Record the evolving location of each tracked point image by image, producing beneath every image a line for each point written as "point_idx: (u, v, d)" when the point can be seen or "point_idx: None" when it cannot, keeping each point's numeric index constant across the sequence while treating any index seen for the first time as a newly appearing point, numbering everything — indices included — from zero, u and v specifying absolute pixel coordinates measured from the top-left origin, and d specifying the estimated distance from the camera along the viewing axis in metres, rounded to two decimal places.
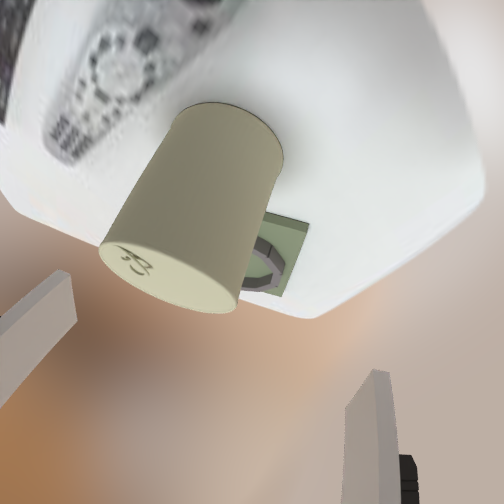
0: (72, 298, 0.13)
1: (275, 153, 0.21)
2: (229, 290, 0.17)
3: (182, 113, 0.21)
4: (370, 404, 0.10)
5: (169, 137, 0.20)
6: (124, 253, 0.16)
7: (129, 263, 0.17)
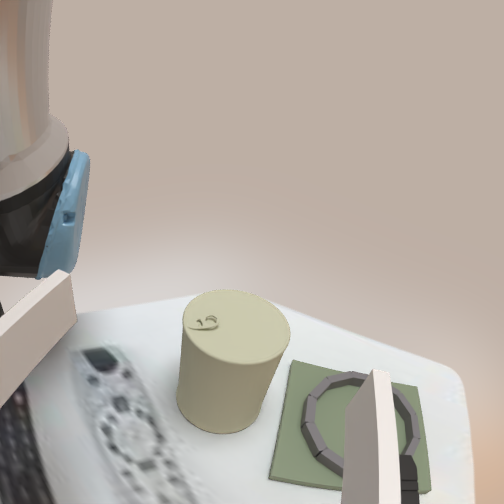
0: (72, 297, 0.13)
1: None
2: (227, 290, 0.30)
3: (179, 406, 0.29)
4: (370, 404, 0.10)
5: (181, 390, 0.28)
6: (193, 320, 0.25)
7: (204, 322, 0.25)
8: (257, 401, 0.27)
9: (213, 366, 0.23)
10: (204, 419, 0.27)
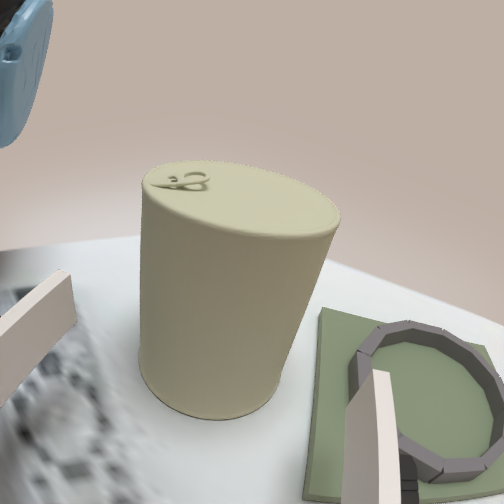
0: (72, 298, 0.13)
1: None
2: (226, 163, 0.18)
3: (142, 371, 0.17)
4: (370, 405, 0.10)
5: (141, 336, 0.16)
6: (162, 177, 0.13)
7: (182, 177, 0.13)
8: (280, 353, 0.15)
9: (193, 248, 0.11)
10: (182, 391, 0.15)
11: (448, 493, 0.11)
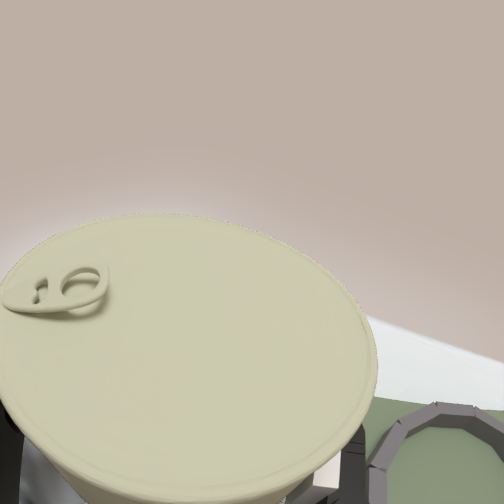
0: None
1: None
2: (175, 216, 0.11)
3: None
4: None
5: None
6: (27, 282, 0.06)
7: (55, 287, 0.06)
8: None
9: (64, 472, 0.04)
10: None
11: None
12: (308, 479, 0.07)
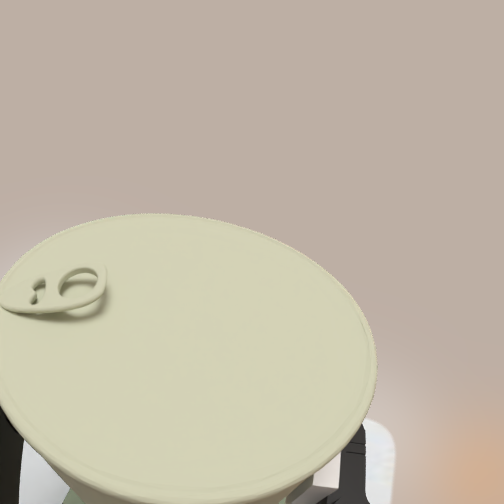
0: None
1: None
2: (174, 216, 0.11)
3: None
4: None
5: None
6: (25, 283, 0.06)
7: (52, 288, 0.06)
8: None
9: (61, 474, 0.04)
10: None
11: None
12: (308, 479, 0.07)
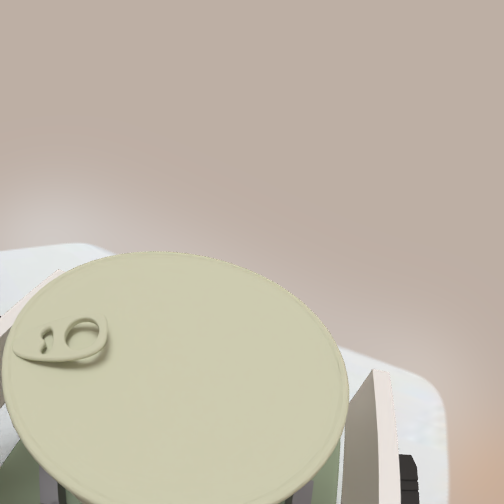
0: None
1: None
2: (168, 253, 0.11)
3: None
4: (370, 404, 0.10)
5: None
6: (34, 331, 0.06)
7: (60, 338, 0.06)
8: None
9: (77, 496, 0.04)
10: None
11: None
12: None
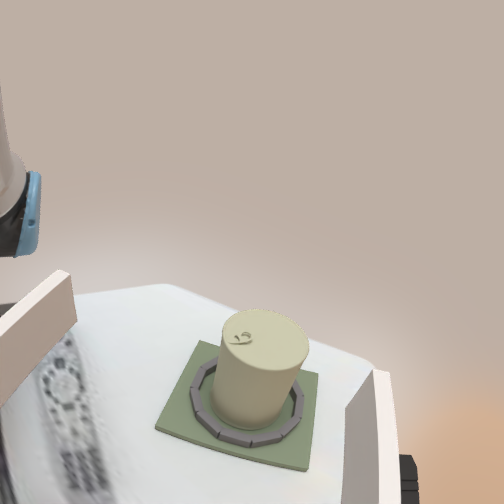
0: (72, 298, 0.13)
1: None
2: (255, 309, 0.36)
3: (213, 408, 0.35)
4: (370, 404, 0.10)
5: (216, 394, 0.34)
6: (232, 336, 0.31)
7: (241, 337, 0.31)
8: (281, 401, 0.33)
9: (250, 373, 0.29)
10: (237, 418, 0.32)
11: (230, 449, 0.31)
12: None
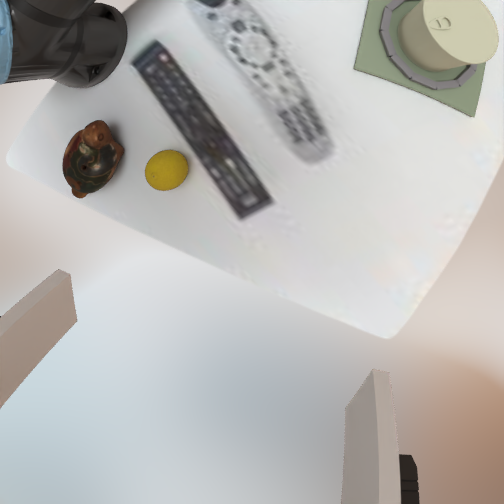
0: (72, 298, 0.13)
1: None
2: None
3: (403, 49, 0.31)
4: (370, 404, 0.10)
5: (408, 43, 0.28)
6: (433, 21, 0.20)
7: (441, 23, 0.20)
8: None
9: (448, 57, 0.22)
10: (425, 65, 0.30)
11: (418, 89, 0.33)
12: None
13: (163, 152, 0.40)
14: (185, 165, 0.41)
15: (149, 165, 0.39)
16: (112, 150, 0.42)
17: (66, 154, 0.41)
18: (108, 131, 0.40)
